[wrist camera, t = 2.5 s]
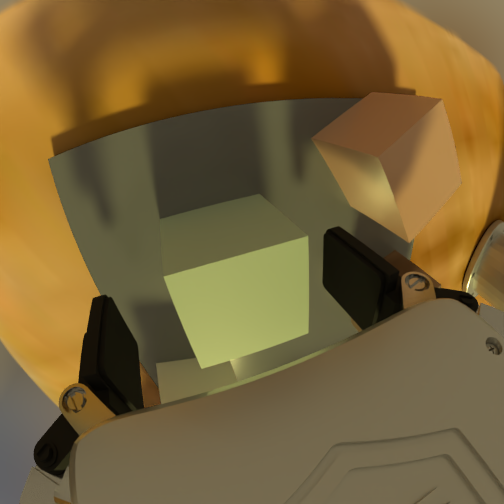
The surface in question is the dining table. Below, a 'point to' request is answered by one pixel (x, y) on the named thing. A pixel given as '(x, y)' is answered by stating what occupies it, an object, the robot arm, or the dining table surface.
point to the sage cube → (236, 277)
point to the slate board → (202, 195)
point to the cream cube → (191, 378)
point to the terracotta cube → (393, 159)
